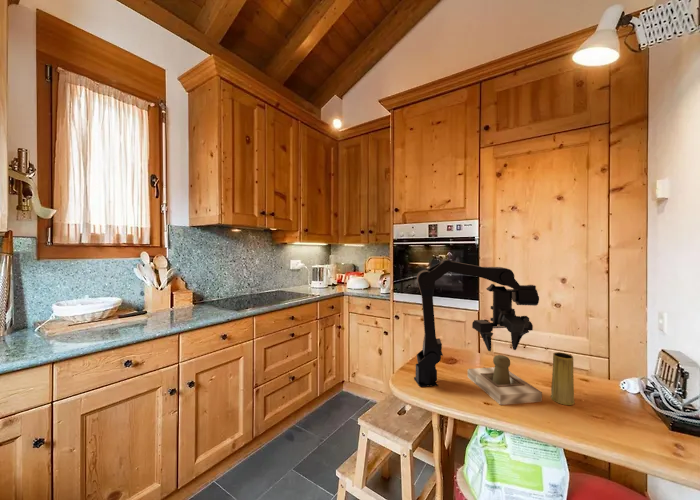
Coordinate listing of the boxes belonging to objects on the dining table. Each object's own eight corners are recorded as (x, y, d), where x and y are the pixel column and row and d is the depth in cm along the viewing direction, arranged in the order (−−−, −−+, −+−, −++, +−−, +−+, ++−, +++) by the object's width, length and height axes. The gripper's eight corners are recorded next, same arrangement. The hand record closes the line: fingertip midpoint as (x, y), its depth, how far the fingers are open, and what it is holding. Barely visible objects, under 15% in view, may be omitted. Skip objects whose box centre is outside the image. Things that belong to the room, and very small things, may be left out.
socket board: (500, 404, 90) (500, 394, 90) (467, 376, 109) (467, 368, 109) (541, 401, 92) (541, 391, 92) (502, 374, 111) (502, 365, 111)
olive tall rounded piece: (515, 393, 97) (515, 360, 97) (496, 392, 97) (496, 359, 97) (505, 384, 103) (506, 353, 103) (488, 384, 103) (488, 352, 103)
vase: (570, 397, 95) (570, 353, 94) (578, 407, 89) (578, 360, 88) (548, 394, 97) (548, 350, 96) (554, 403, 91) (554, 357, 90)
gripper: (491, 310, 91) (490, 361, 91) (546, 308, 93) (545, 358, 93) (471, 303, 102) (471, 348, 102) (521, 302, 104) (520, 345, 104)
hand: (501, 350), depth 100 cm, fingers open, 9 cm apart
